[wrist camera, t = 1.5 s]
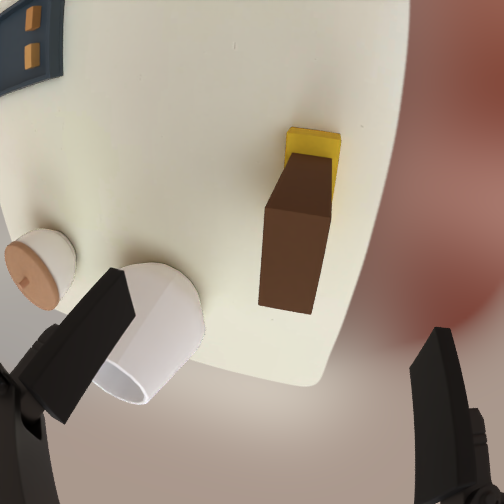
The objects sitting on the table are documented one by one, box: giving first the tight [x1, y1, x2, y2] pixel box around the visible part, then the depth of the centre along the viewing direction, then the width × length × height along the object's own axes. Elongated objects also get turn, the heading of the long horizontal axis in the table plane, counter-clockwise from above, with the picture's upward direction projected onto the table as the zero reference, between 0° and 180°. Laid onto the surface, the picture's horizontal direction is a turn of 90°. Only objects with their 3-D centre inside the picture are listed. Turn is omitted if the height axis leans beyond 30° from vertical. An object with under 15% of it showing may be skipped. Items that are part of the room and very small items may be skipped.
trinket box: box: [5, 229, 76, 311], centre depth 35 cm, size 11×11×9 cm
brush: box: [258, 127, 341, 315], centre depth 20 cm, size 9×4×12 cm, turn 178°
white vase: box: [92, 262, 206, 405], centre depth 31 cm, size 13×13×14 cm
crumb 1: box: [25, 6, 42, 31], centre depth 19 cm, size 1×3×1 cm, turn 178°
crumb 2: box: [25, 43, 40, 70], centre depth 22 cm, size 1×3×1 cm, turn 178°
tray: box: [0, 0, 65, 97], centre depth 21 cm, size 17×12×2 cm
